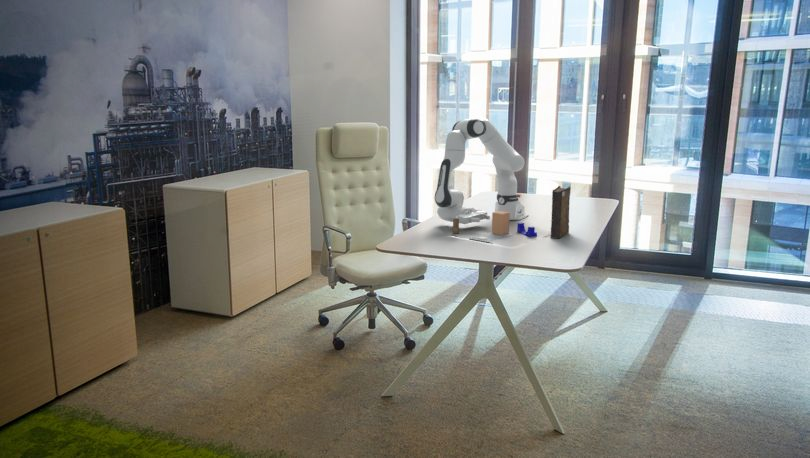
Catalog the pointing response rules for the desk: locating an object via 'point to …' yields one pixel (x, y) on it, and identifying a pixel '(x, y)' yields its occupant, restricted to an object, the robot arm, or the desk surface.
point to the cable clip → (529, 232)
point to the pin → (455, 226)
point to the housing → (500, 222)
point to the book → (560, 212)
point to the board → (488, 237)
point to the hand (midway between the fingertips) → (484, 219)
